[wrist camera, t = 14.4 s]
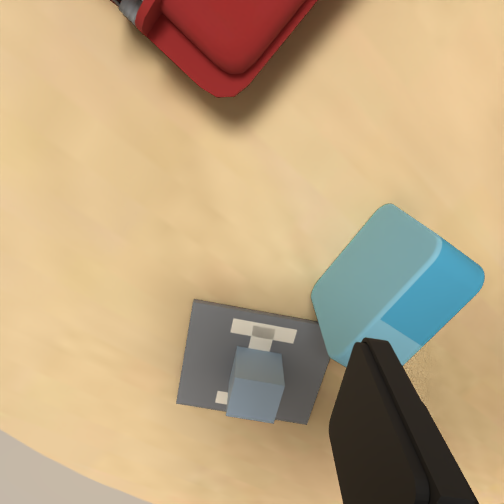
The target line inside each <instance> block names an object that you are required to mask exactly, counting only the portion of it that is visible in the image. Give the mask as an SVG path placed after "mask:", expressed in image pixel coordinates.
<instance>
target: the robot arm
mask: <svg viewBox="0 0 504 504" xmlns="http://www.w3.org/2000/svg"><path fill="white" fill-rule="evenodd" d="M329 437H330V442H331V446H332V451H333V456H334V461H335V466H336V471H337V475H338V480H339V485H340V490H341V495H342V500H343V504H479V502H478V501H477V499H476V497H475V495H474V493H473V492H472V490H471V488H470V486H469V484H468V482H467V481H466V479H465V477H464V475H463V473H462V472H461V470H460V468H459V466H458V464H457V462H456V461H455V459H454V457H453V455H452V453H451V452H450V450H449V448H448V446H447V444H446V442H445V441H444V439H443V437H442V435H441V433H440V432H439V430H438V428H437V426H436V424H435V422H434V421H433V419H432V417H431V415H430V413H429V412H428V410H427V408H426V406H425V405H424V404H423V402H422V401H421V399H420V398H419V396H418V394H417V392H416V390H415V388H414V387H413V385H412V383H411V381H410V379H409V377H408V376H407V374H406V372H405V370H404V368H403V366H402V365H401V363H400V361H399V359H398V357H397V355H396V354H395V352H394V350H393V348H392V346H391V344H390V343H389V342H388V341H386V340H380V339H374V338H367V337H365V338H363V339H362V341H361V342H356V343H355V344H354V346H353V349H352V352H351V355H350V358H349V361H348V365H347V368H346V371H345V374H344V377H343V380H342V383H341V387H340V390H339V393H338V396H337V399H336V402H335V406H334V409H333V412H332V415H331V418H330V422H329Z"/></svg>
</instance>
